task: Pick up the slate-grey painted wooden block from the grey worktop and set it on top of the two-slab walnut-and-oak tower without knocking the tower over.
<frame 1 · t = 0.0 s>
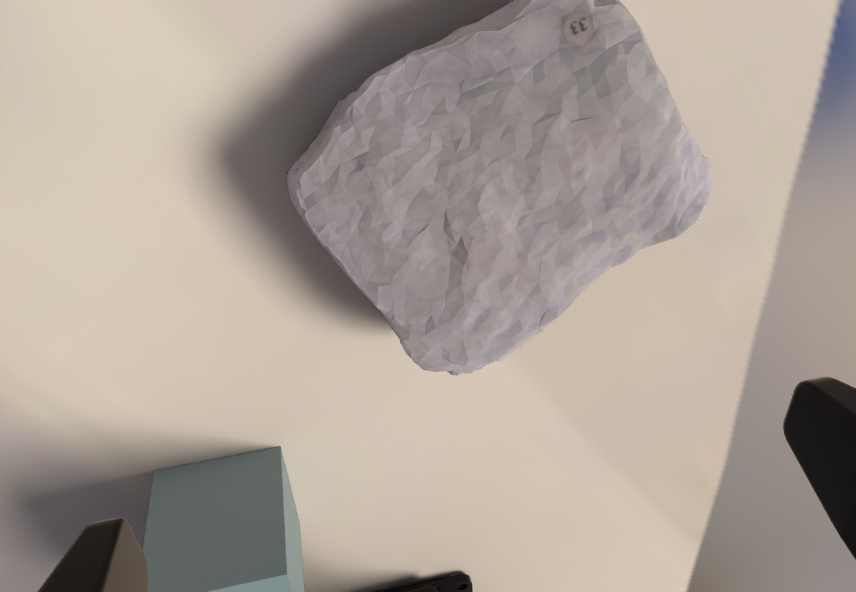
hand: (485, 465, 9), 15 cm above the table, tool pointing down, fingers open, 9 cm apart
slate block: (231, 497, 29), on the table
stone block: (477, 153, 23), on the table
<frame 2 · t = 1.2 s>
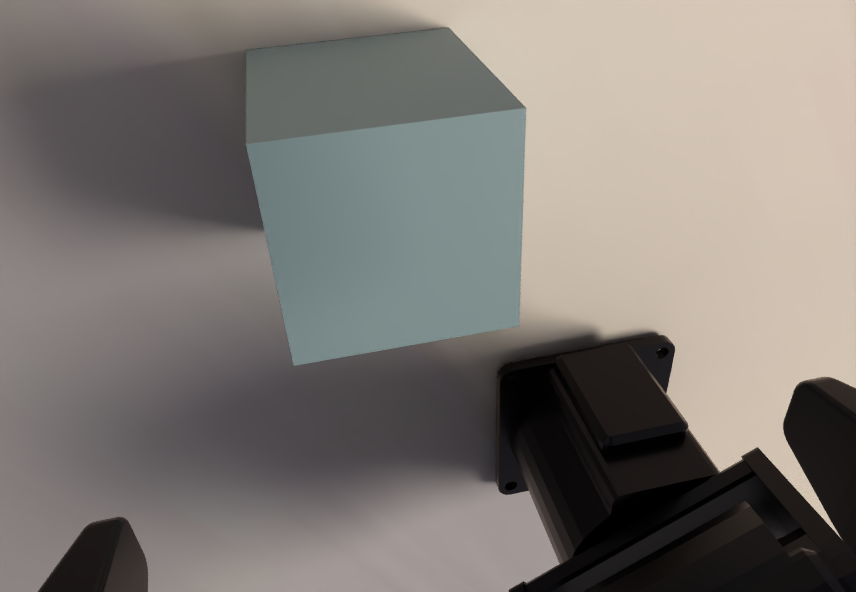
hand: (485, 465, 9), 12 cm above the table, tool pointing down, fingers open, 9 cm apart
slate block: (360, 134, 18), on the table
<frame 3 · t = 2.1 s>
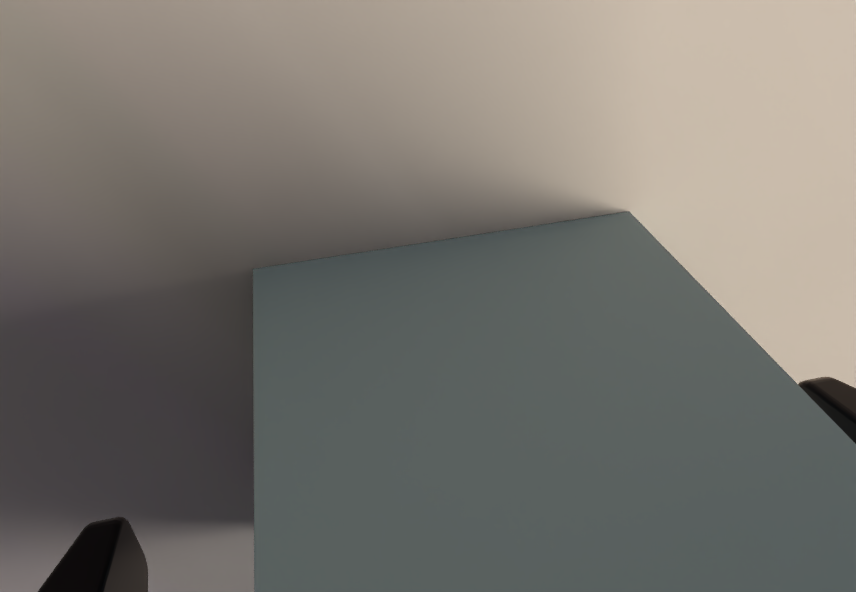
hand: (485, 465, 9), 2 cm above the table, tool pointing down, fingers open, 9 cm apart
slate block: (453, 380, 10), on the table
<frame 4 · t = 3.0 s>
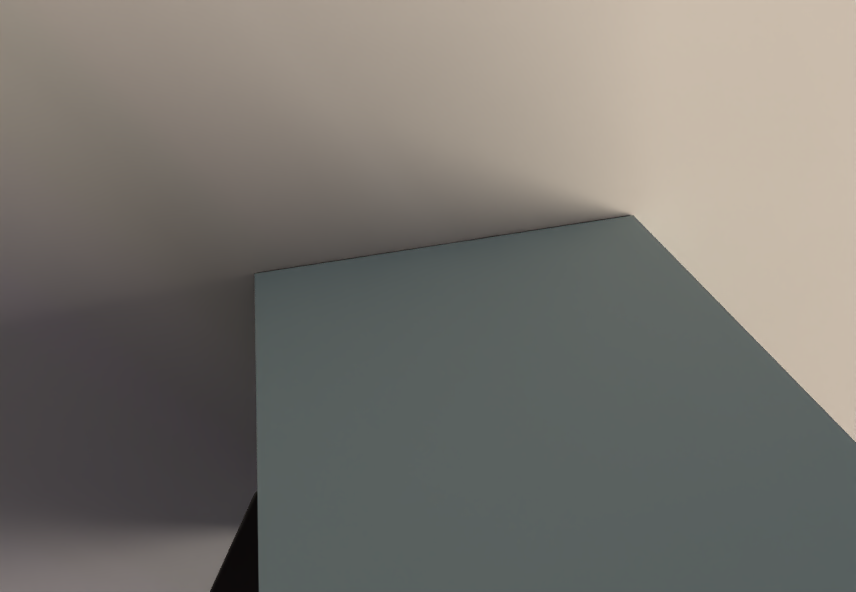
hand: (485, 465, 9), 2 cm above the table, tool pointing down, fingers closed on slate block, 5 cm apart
slate block: (456, 387, 10), on the table, touching gripper
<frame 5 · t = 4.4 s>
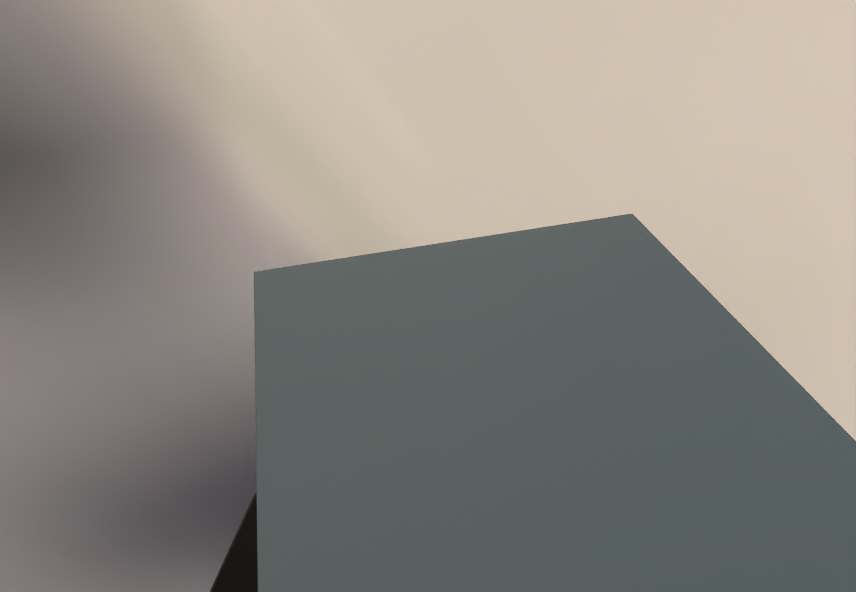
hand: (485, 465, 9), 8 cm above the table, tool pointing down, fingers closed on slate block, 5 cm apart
slate block: (455, 386, 10), point 7 cm above the table, touching gripper
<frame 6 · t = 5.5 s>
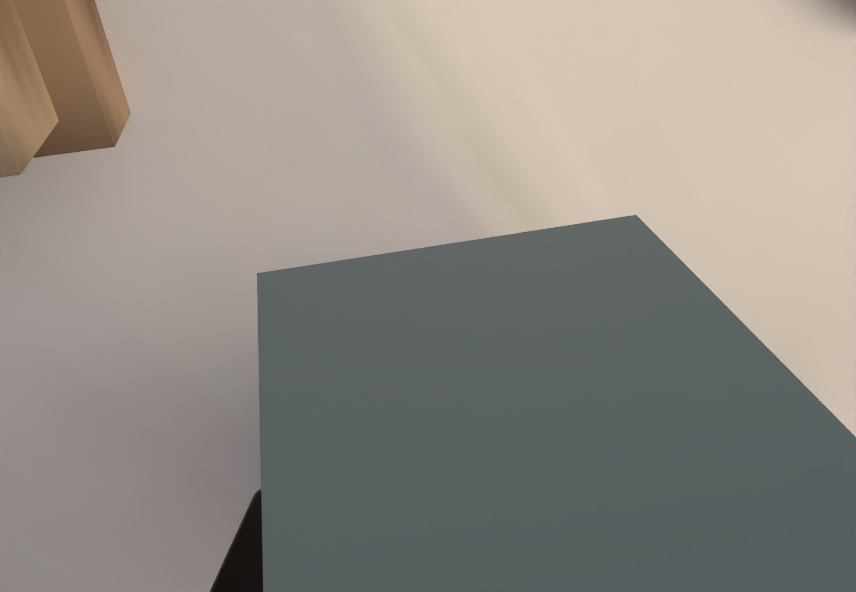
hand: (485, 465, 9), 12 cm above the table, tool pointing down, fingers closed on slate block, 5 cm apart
slate block: (459, 387, 10), point 11 cm above the table, touching gripper
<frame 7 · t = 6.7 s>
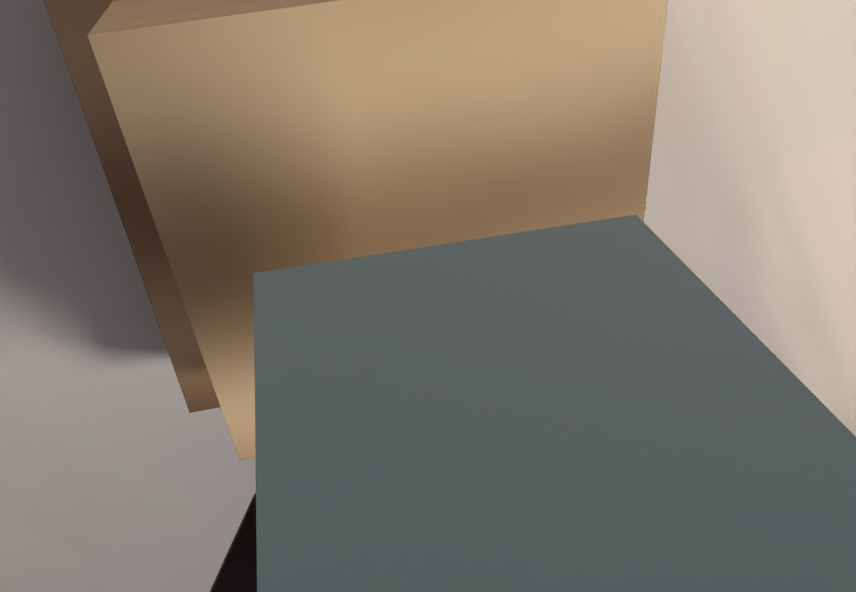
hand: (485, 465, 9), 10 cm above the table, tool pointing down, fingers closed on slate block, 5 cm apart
slate block: (457, 388, 10), point 9 cm above the table, touching gripper
tower base: (360, 139, 18), on the table, touching tower top
tower top: (394, 180, 15), point 2 cm above the table, touching tower base
when the fingers open (9 cm above the table, at t = 7.8 s): slate block drops 2 cm, point 5 cm above the table.
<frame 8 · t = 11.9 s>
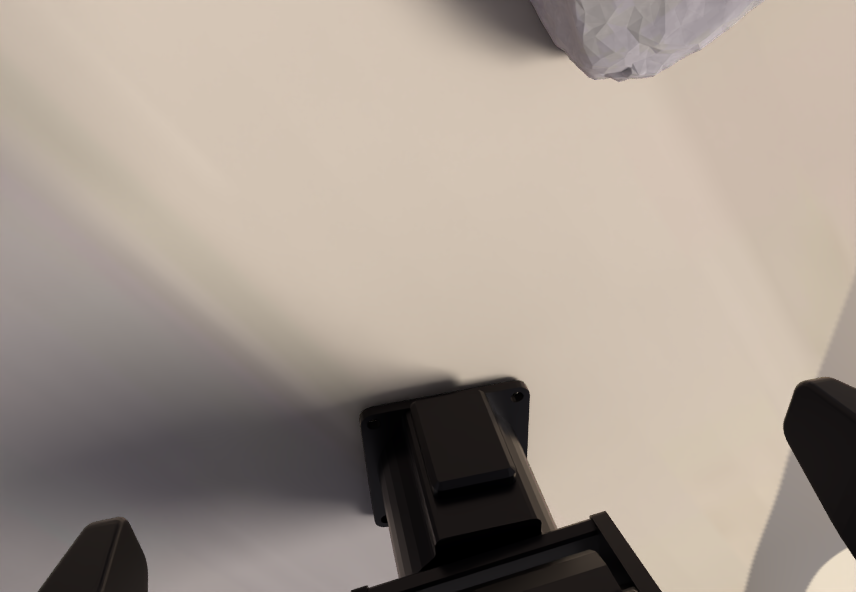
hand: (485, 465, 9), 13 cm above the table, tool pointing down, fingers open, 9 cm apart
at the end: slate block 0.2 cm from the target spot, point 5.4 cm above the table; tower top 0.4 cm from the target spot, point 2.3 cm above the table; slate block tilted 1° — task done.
